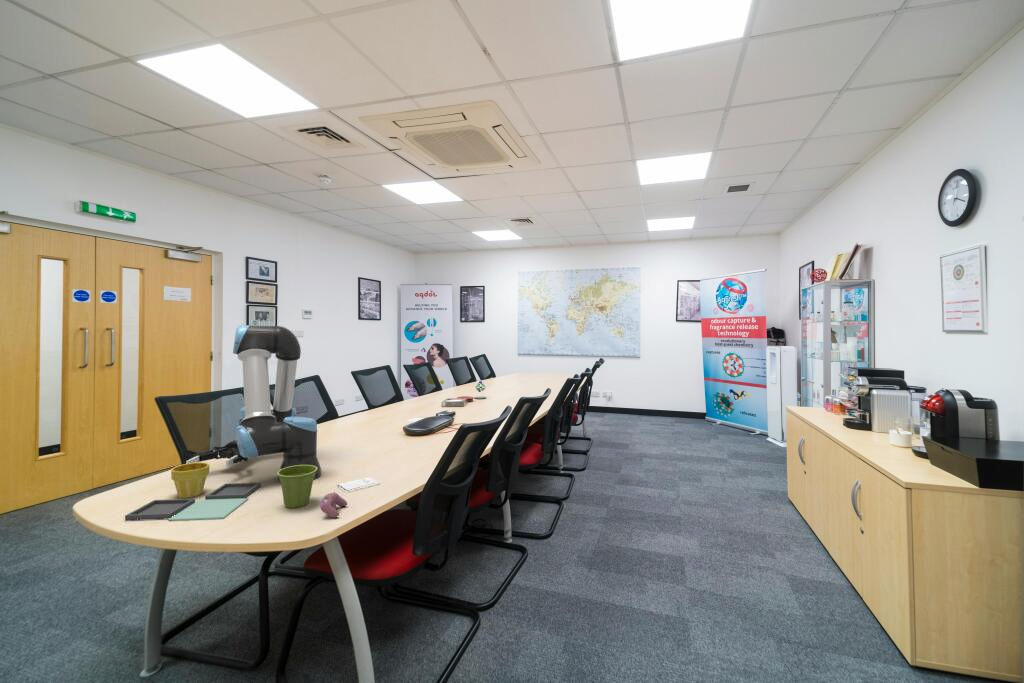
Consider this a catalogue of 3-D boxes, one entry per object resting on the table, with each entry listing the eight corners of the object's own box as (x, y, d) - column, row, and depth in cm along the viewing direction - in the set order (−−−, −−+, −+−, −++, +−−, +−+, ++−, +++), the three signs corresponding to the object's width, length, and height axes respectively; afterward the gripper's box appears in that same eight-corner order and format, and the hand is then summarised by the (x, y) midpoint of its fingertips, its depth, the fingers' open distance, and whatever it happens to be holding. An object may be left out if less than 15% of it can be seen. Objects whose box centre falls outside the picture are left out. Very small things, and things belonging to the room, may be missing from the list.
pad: (248, 499, 139) (248, 498, 139) (223, 518, 124) (223, 517, 124) (199, 501, 137) (199, 499, 137) (168, 521, 122) (168, 519, 122)
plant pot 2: (271, 513, 129) (271, 476, 129) (283, 498, 140) (283, 465, 140) (312, 510, 131) (312, 474, 131) (320, 496, 143) (321, 463, 143)
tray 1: (194, 503, 135) (195, 498, 135) (169, 518, 123) (169, 513, 123) (154, 504, 134) (154, 500, 134) (124, 520, 122) (125, 515, 122)
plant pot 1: (188, 501, 136) (188, 472, 136) (162, 499, 138) (163, 469, 138) (216, 490, 146) (216, 463, 146) (192, 488, 148) (192, 461, 148)
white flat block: (337, 488, 152) (369, 480, 161) (346, 494, 146) (379, 485, 155) (337, 483, 152) (369, 476, 161) (346, 489, 146) (379, 481, 155)
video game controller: (336, 511, 135) (326, 492, 134) (349, 504, 135) (339, 485, 135) (325, 524, 125) (314, 504, 124) (339, 517, 125) (328, 497, 125)
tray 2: (260, 486, 151) (260, 482, 151) (244, 499, 139) (244, 494, 139) (225, 487, 149) (225, 483, 149) (205, 500, 137) (205, 496, 137)
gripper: (269, 456, 175) (243, 473, 154) (204, 457, 172) (170, 475, 151) (269, 439, 175) (244, 453, 154) (205, 439, 172) (170, 454, 151)
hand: (207, 464), depth 152 cm, fingers open, 13 cm apart
